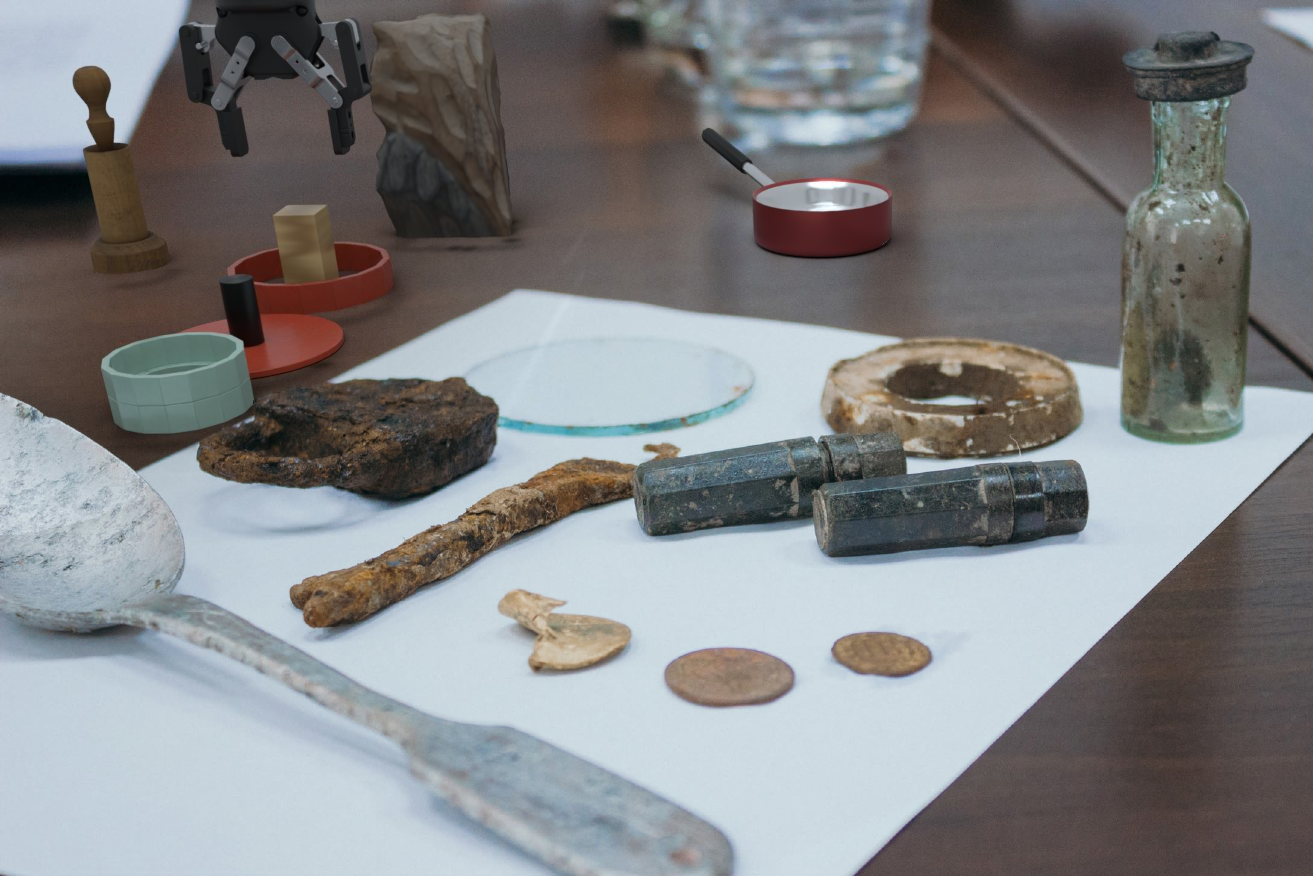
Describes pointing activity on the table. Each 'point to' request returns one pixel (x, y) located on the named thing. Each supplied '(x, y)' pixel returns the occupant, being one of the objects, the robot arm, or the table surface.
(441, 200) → the two-tone stone chunk
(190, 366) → the bowl
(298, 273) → the block
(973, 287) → the table surface
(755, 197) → the frying pan
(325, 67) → the robot arm
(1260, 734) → the table surface
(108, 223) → the mortar and pestle
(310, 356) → the pan lid
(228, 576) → the table surface
